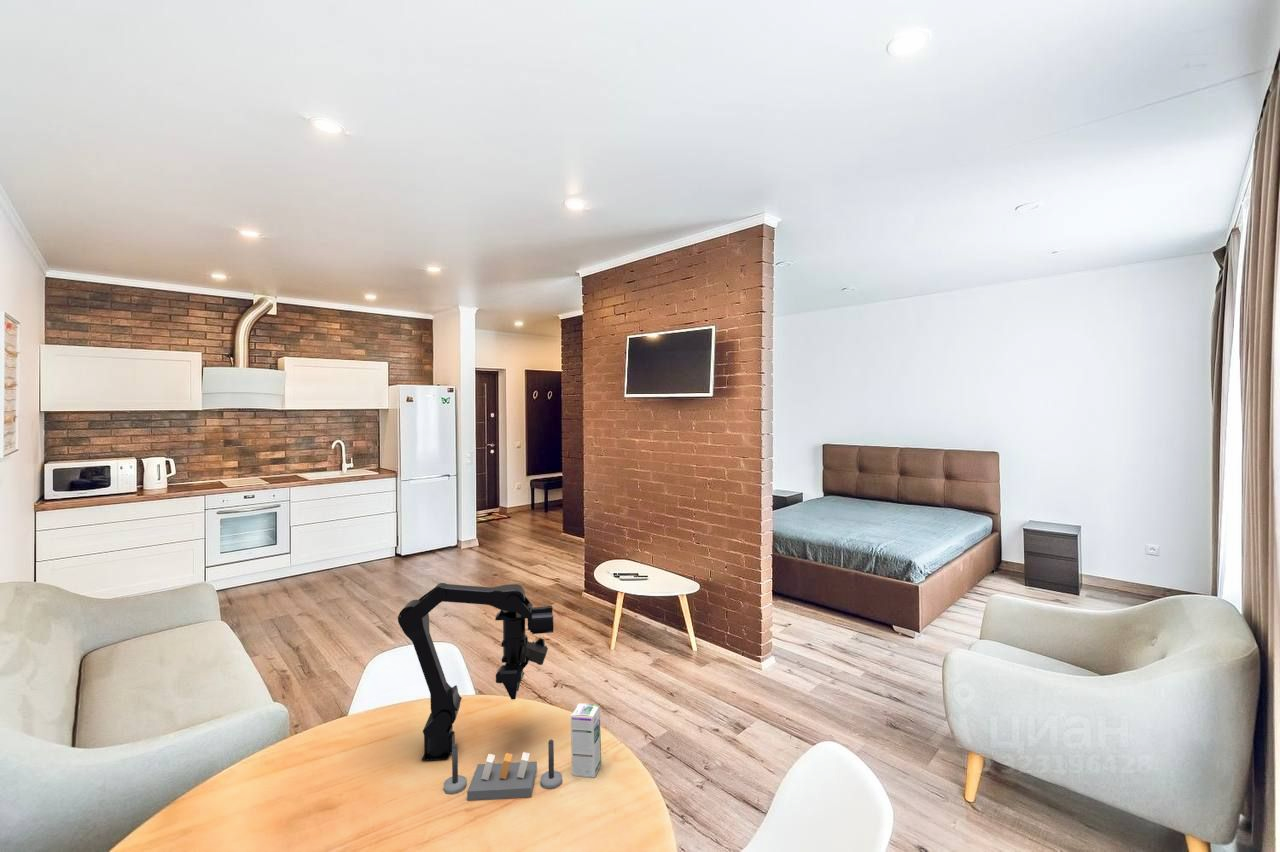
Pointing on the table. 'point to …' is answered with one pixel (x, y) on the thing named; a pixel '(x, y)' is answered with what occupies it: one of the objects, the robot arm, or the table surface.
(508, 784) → the panel
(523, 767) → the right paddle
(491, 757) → the left paddle
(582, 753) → the syrup box
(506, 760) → the orange rectangular block
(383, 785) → the table surface
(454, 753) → the stand
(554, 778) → the stand
